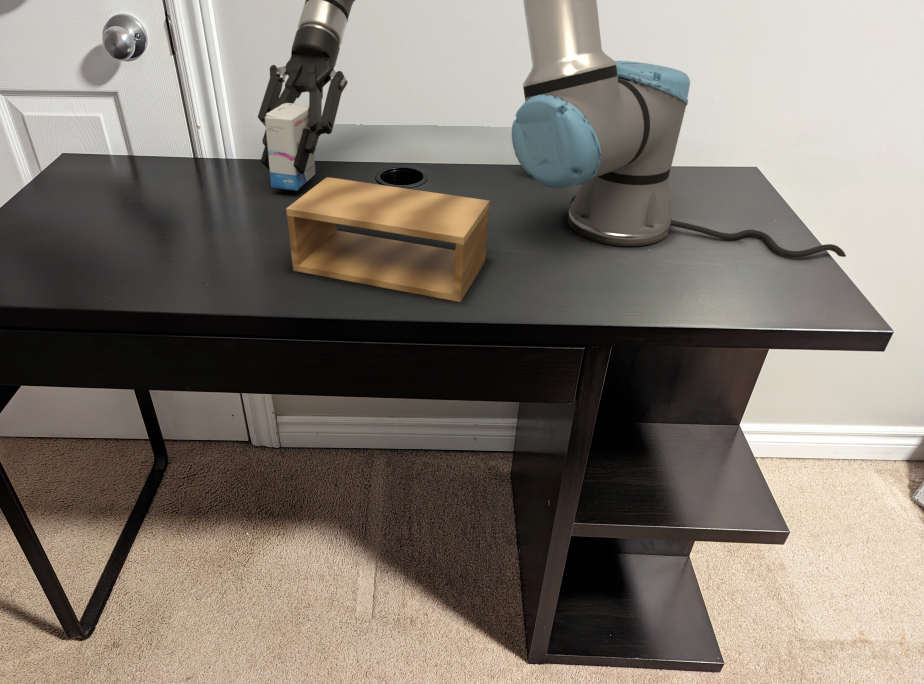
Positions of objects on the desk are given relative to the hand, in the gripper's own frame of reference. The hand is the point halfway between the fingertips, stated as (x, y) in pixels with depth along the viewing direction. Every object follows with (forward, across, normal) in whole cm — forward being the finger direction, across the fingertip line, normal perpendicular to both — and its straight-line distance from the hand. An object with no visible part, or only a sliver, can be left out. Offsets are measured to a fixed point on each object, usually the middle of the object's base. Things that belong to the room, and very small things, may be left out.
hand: (282, 167), depth 112 cm
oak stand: (+16, -26, +9) cm, 31 cm away
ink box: (0, 0, -5) cm, 5 cm away
